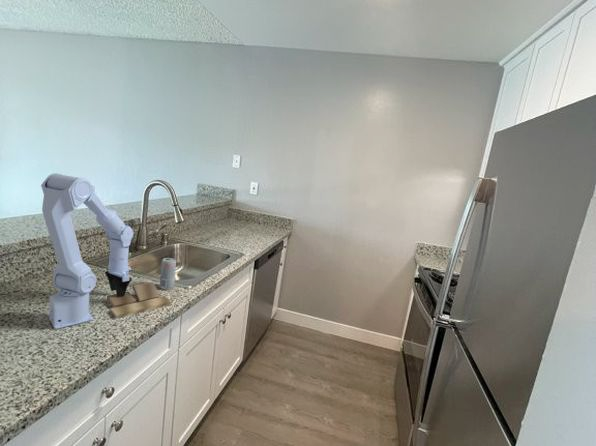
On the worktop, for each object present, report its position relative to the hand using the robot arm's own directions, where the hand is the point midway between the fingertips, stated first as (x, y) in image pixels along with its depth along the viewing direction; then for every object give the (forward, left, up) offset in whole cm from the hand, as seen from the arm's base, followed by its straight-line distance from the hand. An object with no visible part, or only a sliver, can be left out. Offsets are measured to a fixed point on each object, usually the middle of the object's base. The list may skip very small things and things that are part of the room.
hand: (117, 293), depth 108 cm
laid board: (+4, -12, -2) cm, 12 cm away
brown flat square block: (0, -4, -1) cm, 5 cm away
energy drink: (+18, 0, -2) cm, 19 cm away
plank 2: (+8, -5, 0) cm, 9 cm away
